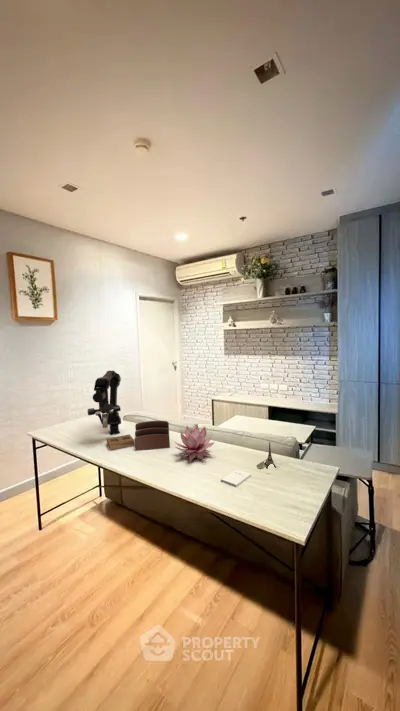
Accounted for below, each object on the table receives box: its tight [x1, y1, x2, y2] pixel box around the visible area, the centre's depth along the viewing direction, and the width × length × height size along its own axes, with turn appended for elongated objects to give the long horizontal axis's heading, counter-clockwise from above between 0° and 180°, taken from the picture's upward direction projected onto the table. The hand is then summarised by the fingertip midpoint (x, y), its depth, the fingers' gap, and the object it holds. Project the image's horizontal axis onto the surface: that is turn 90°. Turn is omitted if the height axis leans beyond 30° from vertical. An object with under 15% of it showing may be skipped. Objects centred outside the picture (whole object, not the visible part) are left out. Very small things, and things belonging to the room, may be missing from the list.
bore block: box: [106, 433, 135, 452], centre depth 178 cm, size 12×14×4 cm
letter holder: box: [133, 420, 171, 452], centre depth 174 cm, size 10×20×14 cm, turn 97°
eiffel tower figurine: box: [256, 441, 277, 471], centre depth 143 cm, size 15×10×13 cm
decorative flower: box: [173, 424, 215, 462], centre depth 157 cm, size 21×21×15 cm
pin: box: [101, 413, 109, 429], centre depth 181 cm, size 3×3×8 cm
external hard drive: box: [220, 468, 252, 488], centre depth 132 cm, size 2×8×12 cm
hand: (105, 423), depth 182 cm, fingers closed on pin, 3 cm apart
